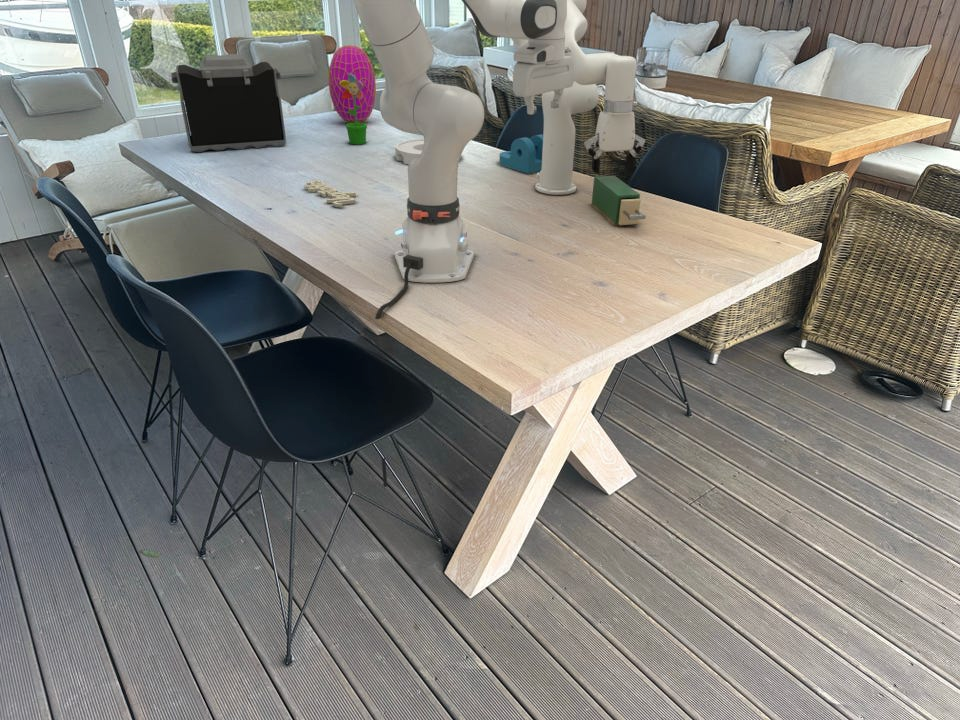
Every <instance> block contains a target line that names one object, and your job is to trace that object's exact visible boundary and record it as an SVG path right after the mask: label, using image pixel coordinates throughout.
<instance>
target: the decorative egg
mask: <svg viewBox="0 0 960 720" xmlns="http://www.w3.org/2000/svg"><path fill="white" fill-rule="evenodd" d="M348 73H350V74H352V75H354V76H355V78H356V83H357V82H358V81H361V82H362V84H363V89H361V90H360V91H361V92H362V93H363V98H362V100H359V99H358V98H357V97H356V95H355V103H356V106H359V109H358V110H356V116H357V123H364V122H365V121H366V120H368V118H369V117H370V116H371V114H372V112H373V111H374V106H375V103H376V102H375V101H376V96H377V95H376V94H377V83H376V82H377V81H376V75H375V71H374V68H373V63H372V62H371V60H370V57H369V56H368V54H367V53H366V51H365V50H363V48H361V47H359V46H357V45H353V44H352V45H351V44H348V45H343V46H340V47H338V48H337V49H336V51H334V53H333V56H332V57H331V61H330V63H329V69H328V90H329V96H330V99H331V103H332V105H333V108H334V110H335V111H336V113H337V114H338V116H339V118H341V119H342V120H343V121H344V122H346V123H348V124H349V123H355V115H351V114H349V112H348V111H349V110H354V100H353V95H352V96H351V97H350V98H348V99H341V97H342V94H343V93H344V91H345V90H347V89H346V88H343V87H342V86H341V85H340V84H339V83H340V82H341V81H342V80H346V81H349V78H348Z"/></svg>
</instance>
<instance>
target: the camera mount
mask: <svg viewBox="0 0 960 720" xmlns="http://www.w3.org/2000/svg"><path fill="white" fill-rule="evenodd" d="M542 151H543V134H542V133H541V134H535V135H532V136H531V137H530V138H529V137H525V136H524V137H520V138H515V139H514V140H513V141H512V143H511V145H510V150H506V151H502V152H500V153H499V156H498V157H499V159H498V161H499V165H500V166H503V167H506V168H509V169H511V170H515V171H518V172H520V173H524V174H527V175H529V174H534V173H538V172H539V173H540V171H541V169H542Z"/></svg>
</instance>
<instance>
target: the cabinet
mask: <svg viewBox="0 0 960 720" xmlns="http://www.w3.org/2000/svg"><path fill="white" fill-rule="evenodd" d="M620 198H634V199H640V198H641V194H640V193H639V192H637V191H636V190H635V189H633V188H632V187H631V186H630V185H628V184H626V183H625V182H624V181H623V180H622V179H620V178H619V177H617V176H616V175H602V176H599V175H598V176H594V177H593V186H592V196H591V204H590V205H591V206H592V207H593V208H594V209H595V210H596V211H597V212H598V213H600V214H601V215H602V216H603V217H604V218H605V219H606V220H607V221H609V223H611V224H612V225H613V226H614V227H619V226H621V227H622V226H623V225H619V224H618V222H619V221H618V215H619V207H620ZM640 200H641V199H640ZM636 225H637V224H629V225H628V226H636Z"/></svg>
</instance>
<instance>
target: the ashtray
mask: <svg viewBox="0 0 960 720" xmlns="http://www.w3.org/2000/svg"><path fill="white" fill-rule="evenodd" d="M423 146H424V138H416V139H415V138H414V139H408V140H404V141H399V142H398V143H396V144H395V146H394V150H395V151H394V152H395V153H394V154H395V160H396V161H397V162H403V164H404V165H407V166H409V163H410V162H411V160H412V159H413V158H415V157H416V156H418V155H419V154H421V153H422V150H423ZM461 158H462V156H461V157H460V160H462V159H461Z"/></svg>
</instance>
